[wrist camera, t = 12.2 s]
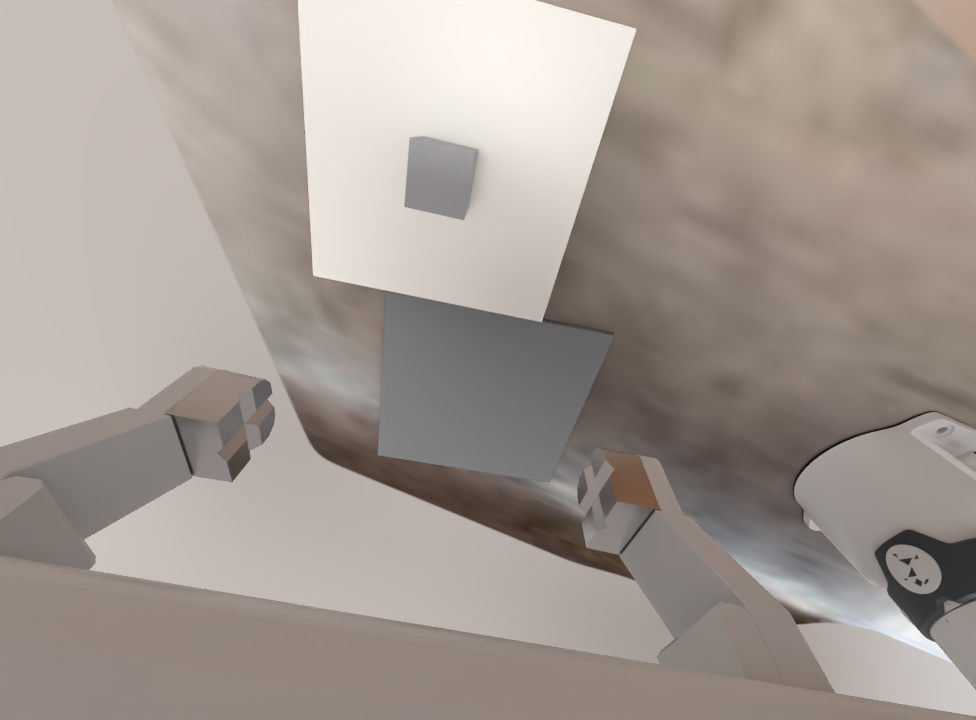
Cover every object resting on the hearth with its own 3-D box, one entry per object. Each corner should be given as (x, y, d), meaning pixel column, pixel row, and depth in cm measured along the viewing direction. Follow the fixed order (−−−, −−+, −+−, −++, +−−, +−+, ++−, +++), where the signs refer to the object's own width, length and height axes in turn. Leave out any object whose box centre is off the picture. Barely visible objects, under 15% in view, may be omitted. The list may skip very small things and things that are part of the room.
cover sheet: (633, 31, 20) (664, 8, 16) (541, 318, 30) (547, 347, 26) (299, -63, 18) (246, -113, 15) (316, 272, 28) (287, 296, 24)
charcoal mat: (612, 333, 32) (614, 335, 32) (548, 478, 43) (549, 482, 42) (387, 288, 31) (385, 291, 30) (379, 451, 41) (377, 455, 41)
